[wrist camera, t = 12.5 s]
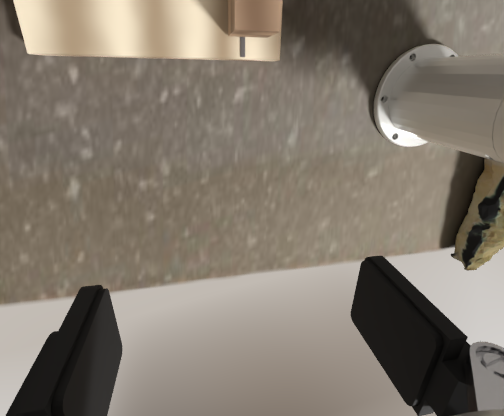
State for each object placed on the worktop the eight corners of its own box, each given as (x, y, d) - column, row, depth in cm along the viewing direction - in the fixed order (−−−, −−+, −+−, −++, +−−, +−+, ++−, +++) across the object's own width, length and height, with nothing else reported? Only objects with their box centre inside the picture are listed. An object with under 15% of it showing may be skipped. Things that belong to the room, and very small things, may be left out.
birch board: (276, -37, 30) (285, -48, 27) (272, 61, 34) (279, 60, 31) (13, -60, 26) (-9, -76, 23) (42, 55, 29) (27, 53, 27)
